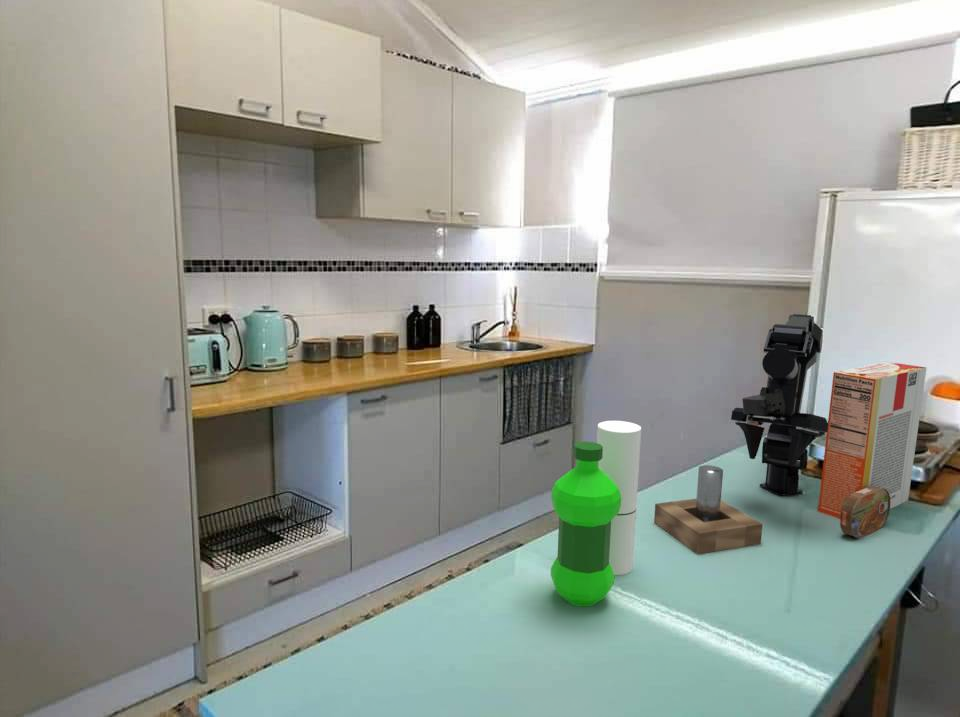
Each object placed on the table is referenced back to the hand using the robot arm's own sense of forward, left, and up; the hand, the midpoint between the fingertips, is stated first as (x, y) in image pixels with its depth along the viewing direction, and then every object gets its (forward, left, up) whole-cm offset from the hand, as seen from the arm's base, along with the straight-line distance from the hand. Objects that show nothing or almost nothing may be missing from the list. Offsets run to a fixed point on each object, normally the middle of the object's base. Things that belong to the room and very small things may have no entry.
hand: (771, 462), depth 131 cm
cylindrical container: (+8, -40, -13) cm, 42 cm away
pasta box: (0, +26, -13) cm, 29 cm away
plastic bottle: (+16, -50, -13) cm, 54 cm away
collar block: (+2, -16, -12) cm, 20 cm away
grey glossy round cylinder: (+2, -16, -12) cm, 20 cm away
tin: (+10, +15, -13) cm, 22 cm away
